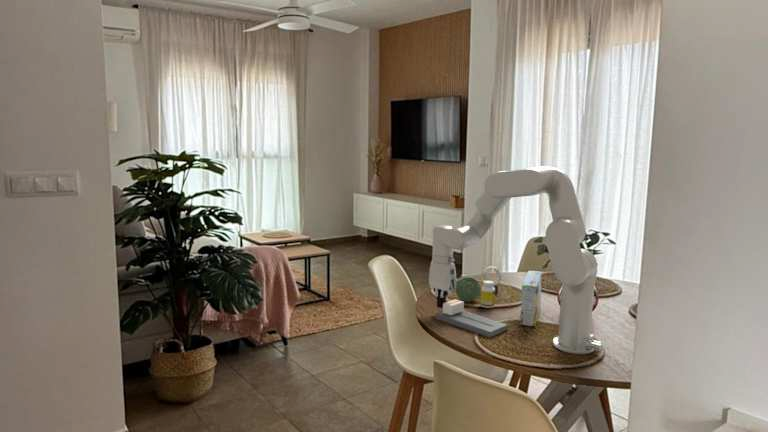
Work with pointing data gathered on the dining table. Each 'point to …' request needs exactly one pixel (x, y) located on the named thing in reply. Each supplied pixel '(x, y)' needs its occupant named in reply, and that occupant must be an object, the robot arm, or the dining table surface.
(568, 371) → the dining table surface
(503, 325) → the grey slider track base
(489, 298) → the supplement bottle
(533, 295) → the snack box
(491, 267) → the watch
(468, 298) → the decorative artifact
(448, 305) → the fader knob
